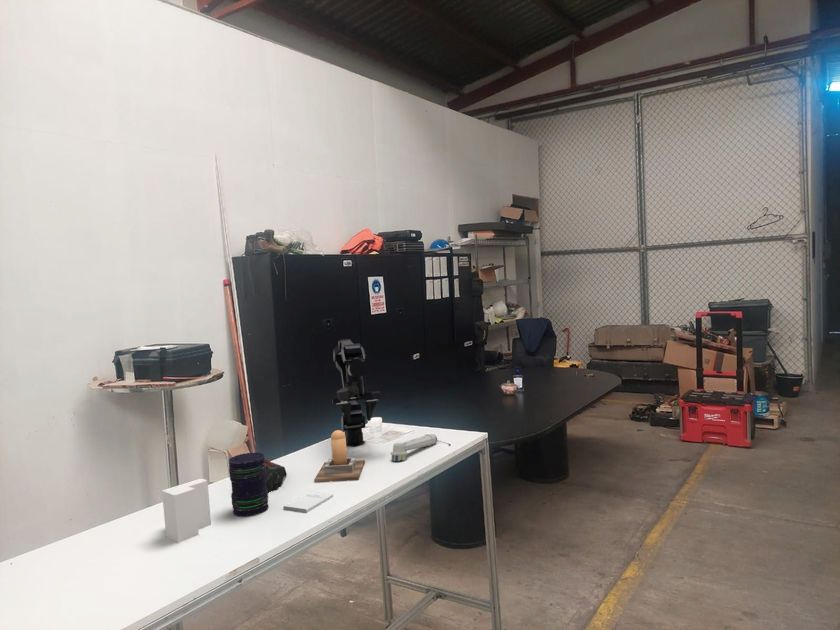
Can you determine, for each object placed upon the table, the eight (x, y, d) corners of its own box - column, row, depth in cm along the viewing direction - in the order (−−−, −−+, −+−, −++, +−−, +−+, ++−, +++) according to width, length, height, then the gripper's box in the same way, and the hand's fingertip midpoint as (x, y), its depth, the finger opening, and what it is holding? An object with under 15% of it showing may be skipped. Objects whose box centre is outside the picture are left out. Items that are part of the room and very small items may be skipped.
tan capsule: (331, 468, 194) (328, 430, 193) (345, 465, 196) (342, 427, 195) (335, 472, 190) (332, 433, 189) (349, 469, 192) (346, 430, 191)
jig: (324, 465, 202) (324, 455, 202) (364, 462, 202) (364, 452, 202) (314, 482, 184) (313, 472, 184) (358, 479, 184) (357, 469, 184)
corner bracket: (178, 542, 145) (174, 495, 145) (157, 532, 153) (153, 487, 152) (217, 527, 153) (214, 482, 153) (196, 518, 161) (192, 475, 160)
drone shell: (256, 499, 173) (253, 473, 173) (216, 489, 184) (214, 465, 184) (308, 478, 190) (306, 453, 190) (269, 470, 202) (267, 447, 201)
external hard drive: (283, 511, 163) (311, 495, 174) (306, 515, 159) (333, 498, 170) (283, 505, 163) (310, 490, 174) (306, 509, 159) (333, 493, 170)
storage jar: (272, 502, 169) (267, 451, 169) (265, 515, 160) (261, 461, 159) (237, 505, 169) (232, 454, 168) (228, 518, 159) (223, 464, 158)
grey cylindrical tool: (438, 434, 219) (399, 442, 199) (438, 452, 219) (399, 461, 198) (427, 432, 222) (387, 440, 202) (427, 450, 222) (387, 460, 201)
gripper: (320, 382, 210) (324, 425, 208) (361, 376, 200) (365, 422, 198) (340, 380, 219) (344, 422, 217) (380, 375, 210) (384, 419, 208)
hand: (358, 421), depth 210 cm, fingers open, 9 cm apart
